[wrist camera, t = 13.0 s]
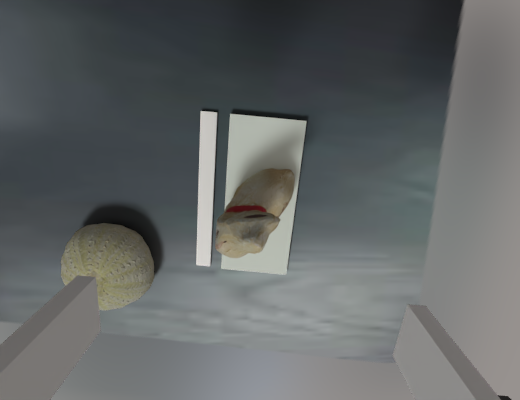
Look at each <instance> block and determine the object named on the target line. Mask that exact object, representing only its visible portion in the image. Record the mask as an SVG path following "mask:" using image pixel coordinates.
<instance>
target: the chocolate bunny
mask: <svg viewBox="0 0 520 400" xmlns="http://www.w3.org/2000/svg"><path fill="white" fill-rule="evenodd" d="M294 182H295V177H294V173H293V172H292V170H290V169H281V170H279V169H274V168H271V169H265V170H261V171H259V172H257V173H256V174H254V175H252V176H251V177H249V178H247V179H246V180H245V181H244V182H243V183H242V184H241V185H240V186H239V187H238V188H237V190H236V191H235V194H234V196H233V198H232V199H231V201H230V203H229V204H228V205H227V206H226V208H225V211H224V214H223V215H221V216H220V217H219V218H218V220H217V228H216V249H217V251H219V252H220V253H221V254H223V255H225V256H227V257H230V258H240V257H242V256H244V255H246V254H248V253H253V254H256V253H260V252H261V251H262V250H263V248H264V246H265V244H266V242H267V240H268V237H269V235H270V234H271V232H273V231H274V230H275V229H276V228H277V226H278V224H279V222H280V219H279V216H280V215H281V214H282V213H283V211H284V210H285V209H286V207H287V206H288V204H289V202H290V200H291V198H292V195H293V191H294Z"/></svg>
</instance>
